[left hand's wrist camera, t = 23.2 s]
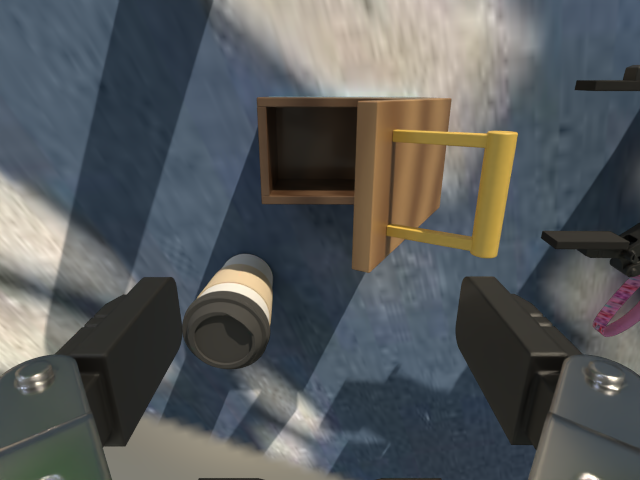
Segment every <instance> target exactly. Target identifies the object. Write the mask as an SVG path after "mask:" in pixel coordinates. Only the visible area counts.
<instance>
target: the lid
mask: <svg viewBox="0 0 640 480" xmlns="http://www.w3.org/2000/svg"><path fill="white" fill-rule="evenodd" d="M450 107H451V98H431V99H402V100H373V101H358V106H357V135H356V164H355V193H354V222H353V251H352V269H354V270H358V271H363V272H367V273H370V272H371V271H372V270H373V269H374V268H375V267H376V266H377V265H378V264H379V263H380V262H381V261H382V260H384V259H385V258H386V257H387V256H388V255H389V254H390V253H391V252H392V251H393V250H394V249H395V248H396V247H397V246H398V245H400V244H401V243H402V242H403V241H404V240H405V239H407V240H413V241H418V242H424V243H430V244H435V245H441V246H446V247H452V248H457V249H463V250H469V251H470V253H471V254H472V255H474V256H477V257H481V258H494V257H496V256H497V252H498V247H499V241H500V235H501V229H502V223H503V217H504V212H505V206H506V200H507V194H508V188H509V183H510V177H511V171H512V165H513V159H514V153H515V148H516V142H517V136H518V133H516V132H510V131H489V132H487V134H481V133H460V132H448V125H449V116H450ZM446 145H448V146H464V147H480V148H485V152H484V159H483V166H482V172H481V179H480V186H479V193H478V200H477V207H476V214H475V220H474V227H473V234H472V237H470V236H464V235H458V234H452V233H446V232H440V231H434V230H428V229H421V228H418V227H419V226H420V225H421V224H422V223H423V222H424V221H425V220H426V219H427V218H428V217H429V216H431V215H432V214H433V213H434V212H435V211H436V210H437V209H438V208H439V206H440V197H441V188H442V179H443V170H444V161H445V152H446Z"/></svg>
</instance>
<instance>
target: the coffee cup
mask: <svg viewBox="0 0 640 480" xmlns="http://www.w3.org/2000/svg"><path fill="white" fill-rule="evenodd" d="M272 284H273V275H272V271H271V269H270V267H269V266H268V264H267V263H266V262H265V261H264V260H262V259H261V258H259V257H257V256H255V255H251V254H239V255H236V256H234V257H232V258H230V259H229V260H228V261H227V262H226V263H225V265H224V266H223V267H222V268H221V269H220V270H219V271H218V272H217V273H216V274H215V276H214V277H213V278H212V279H211V281H210V282H209V283H208V284H207V286H206V287H205V288H204V290H203V291H202V292H201V293H200V295H199V296H198V297H197V299H196V300H195V301H194V302H193V303H192V304H191V305H190V306H189V308H188V309H187V311H186V313H185V316H184V320H183V324H182V332H183V337H184V340H185V342H186V344H187V346H188V348H189V349H190V350H191V352H192V353H193V354H194V355H195V356H196V357H198V358H199V359H200V360H202V361H203V362H205V363H206V364H208V365H211V366H213V367H217V368H222V369H239V368H243V367H246V366H249V365H251V364H252V363H254V362H255V361H257V360H258V359H259V358H260V357H261V356H262V354H263V353H264V351H265V349H266V346H267V344H268V341H269V338H270V323H271V311H272V297H273V291H272Z"/></svg>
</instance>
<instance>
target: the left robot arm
mask: <svg viewBox="0 0 640 480" xmlns="http://www.w3.org/2000/svg"><path fill="white" fill-rule="evenodd" d="M181 340H182V322H181V315H180V308H179V300H178V293H177V286H176V282H175V280H174V279H173V278H172V277H144V278H142V279H141V280H140V281H139V282H138V283H137V284H136V285H135V286H134V287H133V288H132V289H131V291H130V292H129V293H128V294H127V295H122V296H120V297H118V298H116V299H114V300H112V301H111V302H109V303H107V304H105V305H104V306H103V307H102V308H101V309H100V310H99V311H98V312H97V313H96V314H95V315H94V318H91V319H90V320H89V321H88V322H87V323H86V324H85V327H82V328H81V329H80V330H79V331H78V332H77V333H76V334H75V335H74V336H73V337H72V338H71V339H70V340H69V341H68V342H67V343H66V344H65V345H64V346H63V347H62V348H61V349H60V350H59V351H58V352H57V353H56V354H55V355H47V356H42V357H38V358H34V359H31V360H28V361H25V362H23V363H21V364H19V365H17V366H15V367H13V368H11V369H9V370H8V371H6V372H5V373H4V374H2V375H1V376H0V480H112V478H111V475H110V471H109V468H108V465H107V461H106V458H105V454H104V451H103V447H104V446H126V444H127V442H128V441H129V439H130V437H131V435H132V433H133V432H134V430H135V428H136V426H137V424H138V423H139V421H140V419H141V417H142V415H143V414H144V412H145V410H146V408H147V406H148V404H149V403H150V401H151V399H152V397H153V395H154V394H155V392H156V390H157V388H158V386H159V384H160V383H161V381H162V379H163V377H164V375H165V374H166V372H167V370H168V368H169V366H170V365H171V363H172V361H173V359H174V357H175V355H176V354H177V352H178V350H179V348H180V345H181ZM456 340H457V344H458V347H459V349H460V351H461V353H462V355H463V357H464V359H465V361H466V362H467V364H468V366H469V368H470V370H471V372H472V373H473V375H474V377H475V379H476V381H477V383H478V384H479V386H480V388H481V390H482V392H483V394H484V395H485V397H486V399H487V401H488V403H489V405H490V406H491V408H492V410H493V412H494V414H495V416H496V417H497V419H498V421H499V423H500V425H501V427H502V428H503V430H504V432H505V434H506V436H507V438H508V439H509V441H510V443H511V445H533V446H534V447H535V449H536V454H535V458H534V461H533V465H532V468H531V471H530V475H529V478H528V480H640V376H639V375H638V374H636V373H635V372H634V371H632V370H631V369H629V368H627V367H625V366H623V365H621V364H619V363H617V362H615V361H612V360H609V359H606V358H602V357H598V356H593V355H583V354H582V353H581V352H580V351H579V350H578V349H577V348H576V347H575V346H574V345H573V344H572V343H571V342H570V341H569V340H568V339H567V338H566V337H565V336H564V335H563V334H562V333H561V332H560V331H559V330H558V329H557V328H556V327H555V326H552V323H551V322H550V321H549V320H548V319H547V318H546V317H543V314H542V313H541V312H540V311H539V310H538V309H537V308H536V307H535V306H534V305H533V304H532V303H530V302H528V301H526V300H524V299H523V298H521V297H519V296H517V295H515V294H510V293H509V292H508V291H507V289H506V288H505V287H504V286H503V285H502V284H501V283H500V282H499V281H498V280H497V279H496V278H495V277H465V278H464V279H463V281H462V285H461V291H460V299H459V306H458V313H457V321H456ZM198 480H263V479H259V478H199V479H198ZM377 480H442V479H441V478H381V479H377Z"/></svg>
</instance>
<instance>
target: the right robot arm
mask: <svg viewBox="0 0 640 480" xmlns="http://www.w3.org/2000/svg"><path fill="white" fill-rule="evenodd" d="M575 90H586V91H640V65H632V66H630V67H627V68H626V70H625V74H624V78H623V80H577V82H576V86H575ZM541 238H542V239H543V240H544V241H546V242H547V243H548V244H550V245H551V246H552V247H554V248H555V249H577V250H578V251H580V252H581V253H582V254H584V255H585V256H588V257H590V258H611V260H610V265H612V266H613V267H614V268H616V269H617V270H619V271H620V272H622V273H623V274H625V275H627V276H628V277H635V276H638V275H640V223H639V224H637V225H635V226H634V227H632V228H630V229H629V230H627V231H626V232H624V233H622V234H621V235H619V236H618V235H616V234H614V233H612V232H610V231H542V236H541Z"/></svg>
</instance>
